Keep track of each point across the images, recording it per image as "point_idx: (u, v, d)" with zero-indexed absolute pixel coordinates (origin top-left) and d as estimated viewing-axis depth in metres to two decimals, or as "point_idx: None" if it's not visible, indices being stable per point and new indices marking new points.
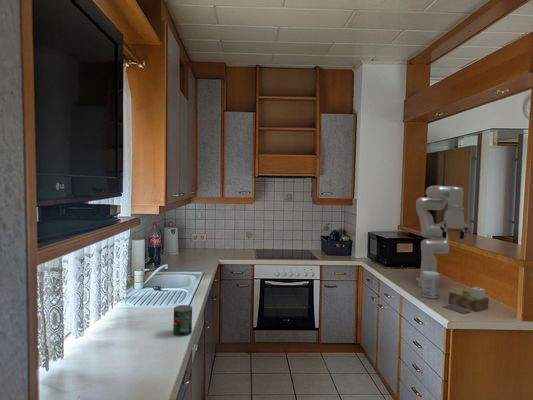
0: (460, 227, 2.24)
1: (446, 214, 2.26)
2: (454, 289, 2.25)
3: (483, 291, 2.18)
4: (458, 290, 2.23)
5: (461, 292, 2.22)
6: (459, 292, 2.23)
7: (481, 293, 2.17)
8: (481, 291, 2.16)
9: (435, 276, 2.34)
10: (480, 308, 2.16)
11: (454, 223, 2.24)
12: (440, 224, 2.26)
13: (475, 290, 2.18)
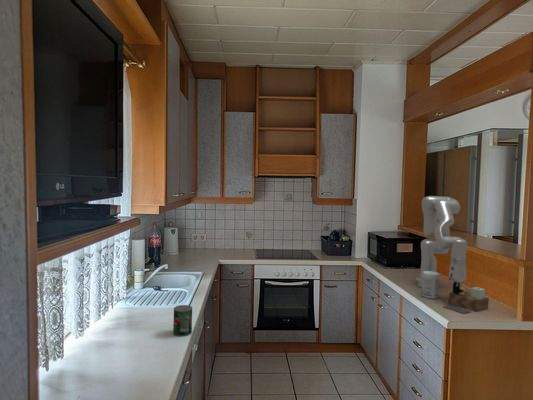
0: None
1: None
2: None
3: (483, 291, 2.18)
4: (460, 289, 2.24)
5: (462, 292, 2.23)
6: (461, 291, 2.23)
7: (481, 293, 2.17)
8: (481, 291, 2.16)
9: (435, 276, 2.34)
10: (480, 308, 2.16)
11: None
12: None
13: (475, 290, 2.18)
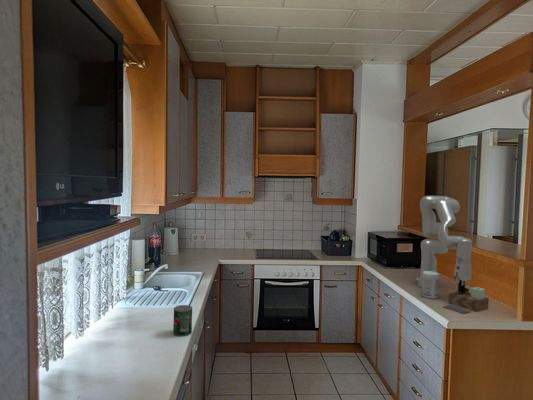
0: None
1: None
2: None
3: (483, 291, 2.18)
4: (465, 288, 2.27)
5: (468, 291, 2.25)
6: (466, 290, 2.26)
7: (481, 293, 2.17)
8: (481, 291, 2.16)
9: (435, 276, 2.34)
10: (480, 308, 2.16)
11: None
12: None
13: (475, 290, 2.18)
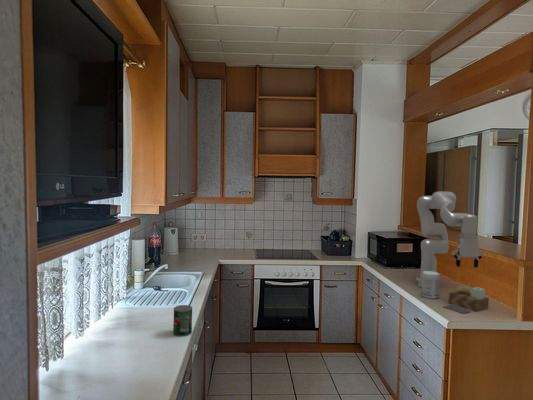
0: None
1: None
2: (461, 288, 2.29)
3: (483, 291, 2.18)
4: (465, 288, 2.27)
5: (468, 291, 2.25)
6: (466, 290, 2.26)
7: (481, 293, 2.17)
8: (481, 291, 2.16)
9: (435, 276, 2.34)
10: (480, 308, 2.16)
11: None
12: None
13: (475, 290, 2.18)
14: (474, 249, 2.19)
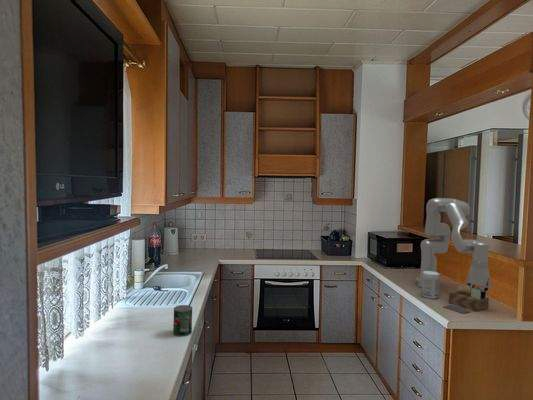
0: None
1: (488, 272, 2.15)
2: (461, 288, 2.29)
3: None
4: (465, 288, 2.27)
5: (468, 291, 2.25)
6: (466, 290, 2.26)
7: None
8: (481, 291, 2.16)
9: (435, 276, 2.34)
10: (480, 308, 2.16)
11: None
12: None
13: (475, 290, 2.18)
14: (480, 278, 2.15)
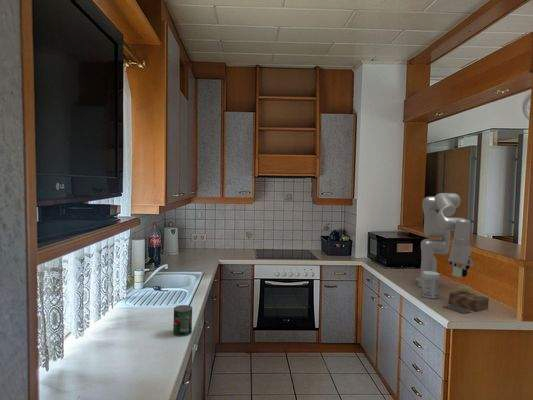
0: None
1: (469, 250, 2.11)
2: (461, 288, 2.29)
3: None
4: (465, 288, 2.27)
5: (468, 291, 2.25)
6: (466, 290, 2.26)
7: None
8: (462, 269, 2.12)
9: (435, 276, 2.34)
10: (480, 308, 2.16)
11: None
12: None
13: (457, 268, 2.14)
14: (461, 255, 2.11)
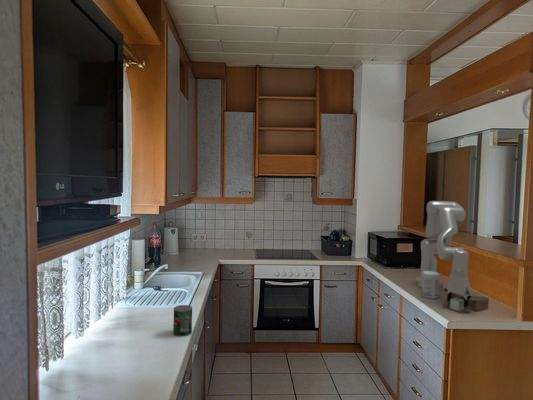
0: None
1: (467, 281, 2.12)
2: None
3: (462, 302, 2.15)
4: None
5: None
6: None
7: (460, 304, 2.14)
8: (460, 302, 2.14)
9: (435, 276, 2.34)
10: (480, 308, 2.16)
11: None
12: None
13: (454, 301, 2.15)
14: (459, 286, 2.12)
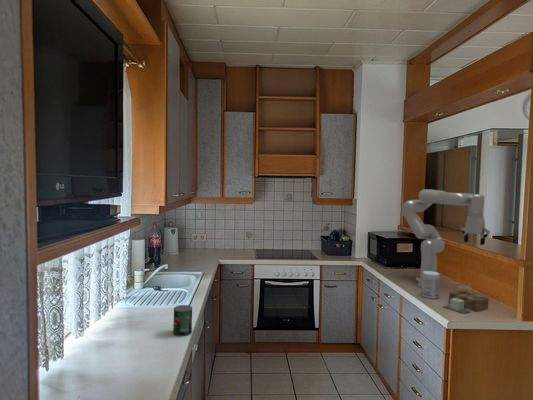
0: None
1: (483, 221, 2.33)
2: (461, 288, 2.29)
3: (462, 302, 2.15)
4: (465, 288, 2.27)
5: (468, 291, 2.25)
6: (466, 290, 2.26)
7: (460, 304, 2.14)
8: (460, 302, 2.14)
9: (435, 276, 2.34)
10: (480, 308, 2.16)
11: None
12: None
13: (454, 301, 2.15)
14: (476, 226, 2.33)
